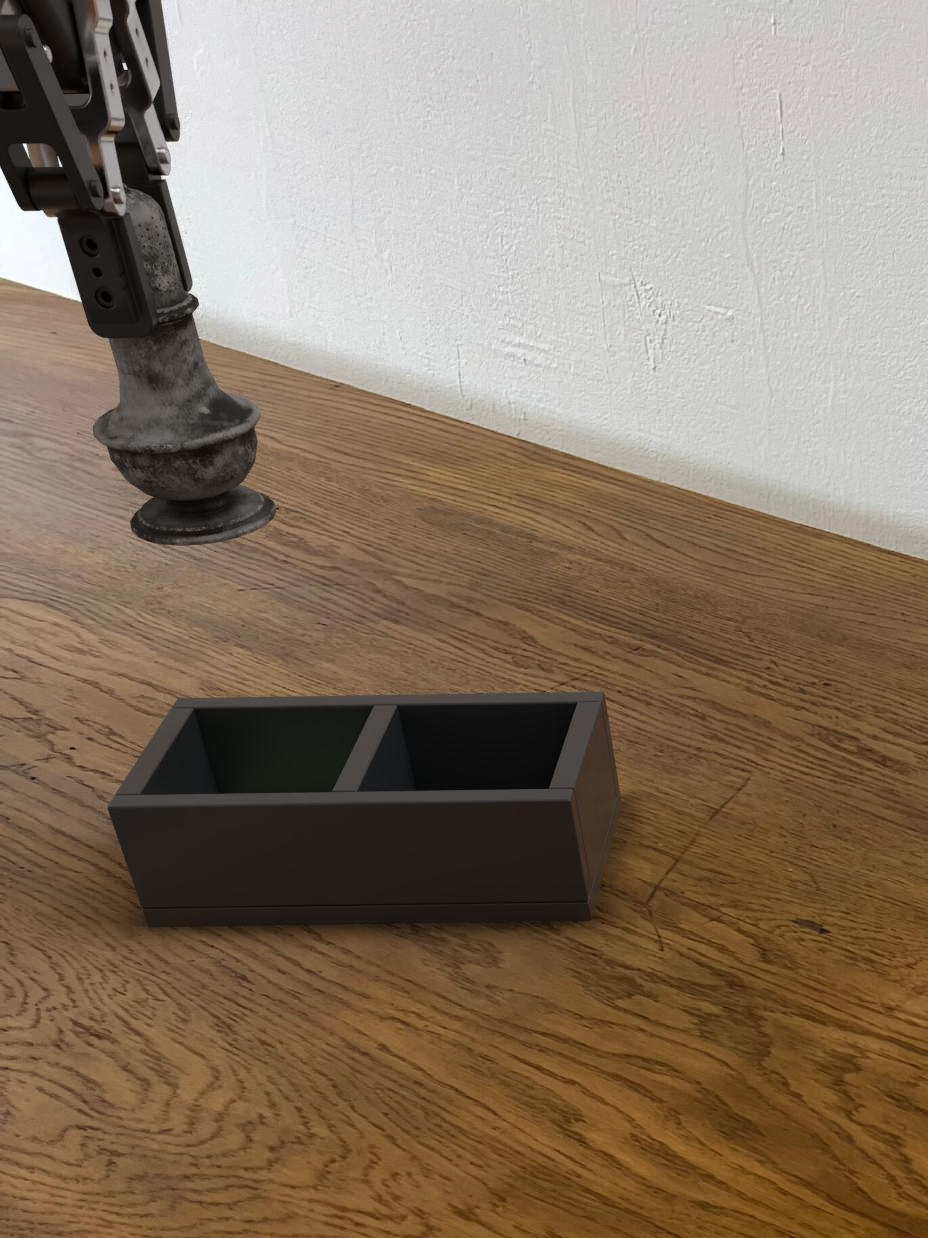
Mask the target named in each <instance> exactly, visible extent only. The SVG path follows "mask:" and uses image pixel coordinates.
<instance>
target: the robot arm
mask: <svg viewBox="0 0 928 1238" xmlns="http://www.w3.org/2000/svg"><path fill="white" fill-rule="evenodd" d="M165 24H166V23H165V17H164V10H163V4H162V0H0V170H1V172H2V175H3V176H4V179H5V180H6V183H7V185H8V187H9V190H10V191H11V193H12V196H13V198H14V200H15V202H16V204H17V206H18V207H19V208H20V210H21V211H23V212H41V211H42V212H43V214H44V215H45V216H46V217H47V218H57V219H56V221H57V225H58V228H59V231H60V234H61V237H62V238H61V239H62V241H63V244H64V248H65V251H66V254H67V257H68V261H69V264H70V268H71V271H72V274H73V279H74V281H75V285H76V288H77V291H78V295H79V298H80V301H81V305H82V308H83V311H84V315H85V318H86V322H87V325H88V327H89V328H90V330H91V331H92V332H93V333H94V334H95V335H96V336H98V337H99V338H103V339H108V338H144V337H147V336H149V335H150V334H151V332H152V331H153V330H154V329H155V328H156V327H157V325H158V314H157V311H156V307H155V303H154V300H153V296H152V293H151V289H150V285H149V282H148V278H147V274H146V271H145V267H144V263H143V260H142V256H141V253H140V249H139V245H138V242H137V238H136V234H135V231H134V227H133V224H132V220H131V216H130V213H125V212H126V195H125V192H124V189H123V184H125V185H126V186H127V187H128V188H131V189H136V190H140V191H142V192H143V193H145V194H147V195H149V196H151V197H152V198H153V199H154V200H155V201H156V202H157V203H158V204H159V205H160V207H161V209H162V211H163V213H164V217H165V220H166V224H167V228H168V232H169V235H170V239H171V243H172V247H173V250H174V254H175V258H176V262H177V266H178V269H179V273H180V277H181V281H182V284H183V288H184V291H187V292H188V293H189V292H190V291H191V290H192V288H193V285H194V284H193V277H192V272H191V270H190V266H189V262H188V261H189V260H188V258H187V255H186V251H185V246H184V242H183V239H182V234H181V231H180V227H179V223H178V219H177V216H176V212H175V207H174V205H173V200H172V197H171V193H170V188H169V185H168V181H167V179H166V178H165V179H164V178H162V177H166V176H167V177H169V176H170V174H171V170H172V156H171V152H170V149H169V148H168V145H167V143H175V142H176V143H177V142H179V141H180V138H181V120H180V117H179V112H178V106H177V105H178V104H177V97H176V92H175V86H174V79H173V70H172V64H171V57H170V52H169V44H168V37H167V30H166V25H165ZM124 64H125V66H126V67H124ZM125 68H126V69H125ZM24 145H26V147H25V146H24ZM60 164H61V165H60Z"/></svg>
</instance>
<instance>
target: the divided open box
mask: <svg viewBox="0 0 928 1238" xmlns="http://www.w3.org/2000/svg"><path fill="white" fill-rule="evenodd" d="M612 738H613V737H612V733H611V727H610V720H609V713H608V707H607V701H606V694H605V692H604V691H565V692H564V691H563V692H562V691H558V692H557V691H556V692H553V691H552V692H547V691H546V692H498V693H497V692H489V693H488V692H487V693H486V692H485V693H433V694H432V693H427V694H426V693H422V694H419V693H418V694H361V695H360V694H357V695H355V694H353V695H352V694H351V695H350V694H349V695H295V696H294V695H293V696H292V695H289V696H288V695H287V696H286V695H285V696H282V695H281V696H227V697H226V696H222V697H220V696H218V697H217V696H216V697H178V698H176V700H175V701H174V703H173V705H172V706H171V708H169V710H168V712H167V713H166V714H165V716H164V718H163V720H162V721H161V722H160V724H159V726H158V727H157V729H156V730H155V732H153V735H152V737H151V738H150V739H149V741H148V743H147V744H146V745H145V747H144V749H143V750H142V752H141V753H140V754H139V757H138V758H137V759H136V761H135V762H134V764H133V766H132V767H131V768H130V770H129V772H128V773H127V775H126V776H125V778H124V780H123V781H122V782H121V784H120V785H119V787H118V789H117V790H116V791H115V794H114V796H113V797H112V799H111V800H110V801H109V803H108V805H107V807H106V809H107V811H108V815H109V817H110V820H111V823H112V826H113V829H114V832H115V835H116V837H117V841H118V843H119V846H120V849H121V852H122V855H123V858H124V861H125V865H126V867H127V870H128V872H129V875H130V878H131V882H132V884H133V888H134V890H135V893H136V896H137V899H138V901H139V902H138V903H139V904H140V907H141V911H142V914H143V917H144V920H145V923H146V926H147V928H186V927H187V928H189V927H190V928H191V927H196V928H197V927H257V926H258V927H259V926H262V927H263V926H322V925H325V926H326V925H327V926H328V925H330V926H331V925H389V924H390V925H391V924H393V925H395V924H397V925H398V924H399V925H400V924H457V923H458V924H463V923H464V924H466V923H469V924H470V923H521V922H522V923H527V922H528V923H529V922H530V923H533V922H536V923H537V922H538V923H539V922H590V921H592V920H593V918H594V917H593V916H594V913H595V910H596V906H597V903H598V899H599V896H600V895H599V894H600V892H601V888H602V884H603V881H604V877H605V874H606V870H607V867H608V863H609V858H610V855H611V851H612V848H613V844H614V841H615V836H616V834H617V830H618V825H619V822H620V818H621V815H622V812H623V808H624V807H623V801H622V794H621V790H620V783H619V777H618V770H617V763H616V757H615V751H614V745H613V739H612Z"/></svg>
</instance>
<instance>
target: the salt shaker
mask: <svg viewBox="0 0 928 1238" xmlns="http://www.w3.org/2000/svg"><path fill="white" fill-rule="evenodd" d="M123 189H124V192H125V195H126V212H125V213H130V216H131V220H132V224H133V227H134V231H135V234H136V238H137V242H138V245H139V249H140V253H141V256H142V260H143V263H144V267H145V271H146V274H147V278H148V282H149V285H150V289H151V293H152V296H153V300H154V303H155V307H156V311H157V314H158V325H157V327H156V328H155V329H154V330H153V331H152V332H151V334H150V335H149V336H147V337H144V338H107V339H108V343H109V346H110V349H111V353H112V356H113V360H114V363H115V366H116V370H117V374H118V375H117V376H118V382H119V383H118V384H119V402H118V404H117V406H116V407H113V408H111V409H109V410H107V411H106V412H104V413H103V414H101V415H100V416H99V417H98V418H97V419H96V420H95V422H94V423H93V426H92V434H93V437H94V438H95V439H96V440H97V441H98V442H99V443H100V444H101V445H103V446H105V447H106V449H107V452H108V455H109V458H110V461H111V462H112V464H113V465H114V466H115V467H116V469H117V470H118V471H119V473H120V474H121V475H122V477H123V478H124V479H125V480H126V481H127V482H128V483H129V484H130V485H132V486H133V487H135V488H136V489H138V490H139V491H140V492H142V493H144V494H145V495H147V496H150V497H151V498H149V499H148V500H147V501H146V502H144V503H143V504H142V505H141V507H140V508H139V509H138V510H136V511H135V513H134V514H133V515H132V517H131V519H130V520H129V524H130V530H131V532H132V533H133V534H134V536H136V537H137V538H138V539H141V540H143V541H146V542H148V543H153V544H158V545H162V546H176V547H177V546H178V547H182V546H183V547H185V546H186V547H187V546H202V545H208V544H216V543H221V542H226V541H231V540H233V539H238V538H240V537H243V536H246V535H249V534H252V533H254V532H257V531H258V530H259V529H262V528H264V527H265V526H267V525H268V524H269V523H270V522H271V521H272V520H274V518H275V516H276V514H277V508H276V504H275V501H274V500H272V498H270V497H269V496H268V495H266V494H265V493H262V492H260V491H257V490H255V489H254V488H251V487H248V486H246V485H241V484H242V483H243V482H244V481H245V480H246V478H247V476H248V475H249V474H250V472H251V470H252V468H253V467H254V465H255V463H256V458H257V451H258V444H259V443H258V441H259V440H258V437H257V432H256V429H255V427H256V426H257V424H258V422H259V420H260V418H261V416H262V415H261V412H260V408H259V405H257V404H256V403H254V401H252V400H251V399H250V398H247V397H244V396H241V395H239V394H234V393H227V392H225V391H224V390H222V389H221V388H220V387H219V386H218V384H217V382H216V380H215V378H214V376H213V374H212V372H211V371H210V368H209V366H208V364H207V361H206V359H205V356H204V351H203V347H202V344H201V340H200V336H199V332H198V328H197V326H196V321H195V319H194V318H195V317H194V312H195V311H196V310H197V309H198V307H199V306H200V301H199V298H198V297H197V296H195V295H194V294H192V293H189V292H187V291H184V288H183V284H182V281H181V277H180V273H179V269H178V266H177V262H176V258H175V254H174V250H173V247H172V243H171V239H170V235H169V232H168V228H167V224H166V220H165V217H164V213H163V211H162V209H161V207H160V205H159V204H158V203H157V202H156V201H155V200H154V199H153V198H152V197H151V196H149V195H147V194H145V193H143V192H142V191H140V190H136V189H131V188H128V187H127V186H126V185H125V184H123Z"/></svg>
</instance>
